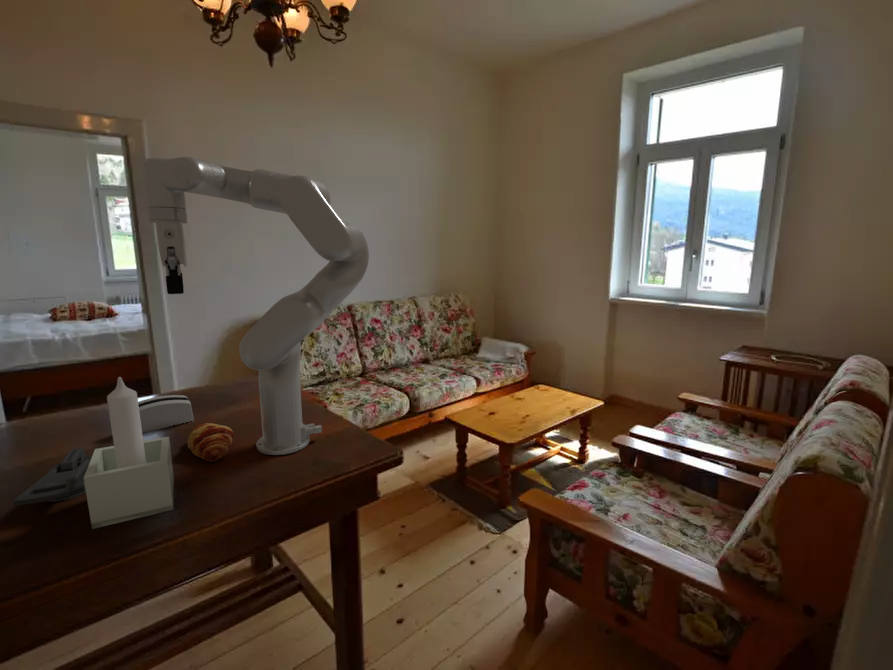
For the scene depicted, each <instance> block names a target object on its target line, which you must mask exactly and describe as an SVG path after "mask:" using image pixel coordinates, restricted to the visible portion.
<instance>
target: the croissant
mask: <svg viewBox="0 0 893 670" xmlns="http://www.w3.org/2000/svg"><path fill="white" fill-rule="evenodd" d="M234 437H235V432H234V431H233V430H232V428H230V427H229V426H227V425H221V424H216V423H211V422H209V423H208V422H206V423H205V422H204V423H201V424H198V425H196V426H195V428H193V430H192V432H191V433H189V435H188V439H187V440H186V441H187V448H188V449H190V451H191V453H192V454H193V455H194V456H195V457H199V458H200V459H202V460H204V461H207V462H216V461H218V460H220V459H221V458H224V456H226V455H227V454H228V451H229V450H230V449H231V447H232V443H233V439H234Z"/></svg>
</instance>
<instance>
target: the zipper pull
mask: <svg viewBox="0 0 893 670" xmlns="http://www.w3.org/2000/svg"><path fill="white" fill-rule="evenodd" d="M91 458H92V456H90V457H87V456H86V452H85V449H84V447H78V448H70V450H69V451H68V452H67V454H66V456H65V457H64V459H63V461H62V462H60V463H57V464H56V465H55V466H53V467H52V468H50V470H49V471H48V472H47V474H45V475H44V476H43V477H42V478H40V479H39V480H38V481H36V482H35V483H34V484H32V485H31V486H30V487H28V488H27V489H26V490H25V491H23V492H22V493H21V494H19V495H17V497H15V498H14V499H13V500H12V505H13V506H23V505H30V504H31V505H32V504H36V503H42V502H47V501H48V502H49V503H51V502H52V503H57V501H58V502H62V501H61V500H64V501H67V500H66V499H69V500H71V499H70V498H72V499H74V498H76V497H75V496H77V497H79V496H78V495H80V494H83V493H85V492H86V489H85V483H84V476H85V473H86V471H87V468H88V466H89V463H90V461H91ZM85 494H86V493H85ZM83 495H84V494H83ZM80 496H81V495H80ZM73 497H74V498H73Z"/></svg>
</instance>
